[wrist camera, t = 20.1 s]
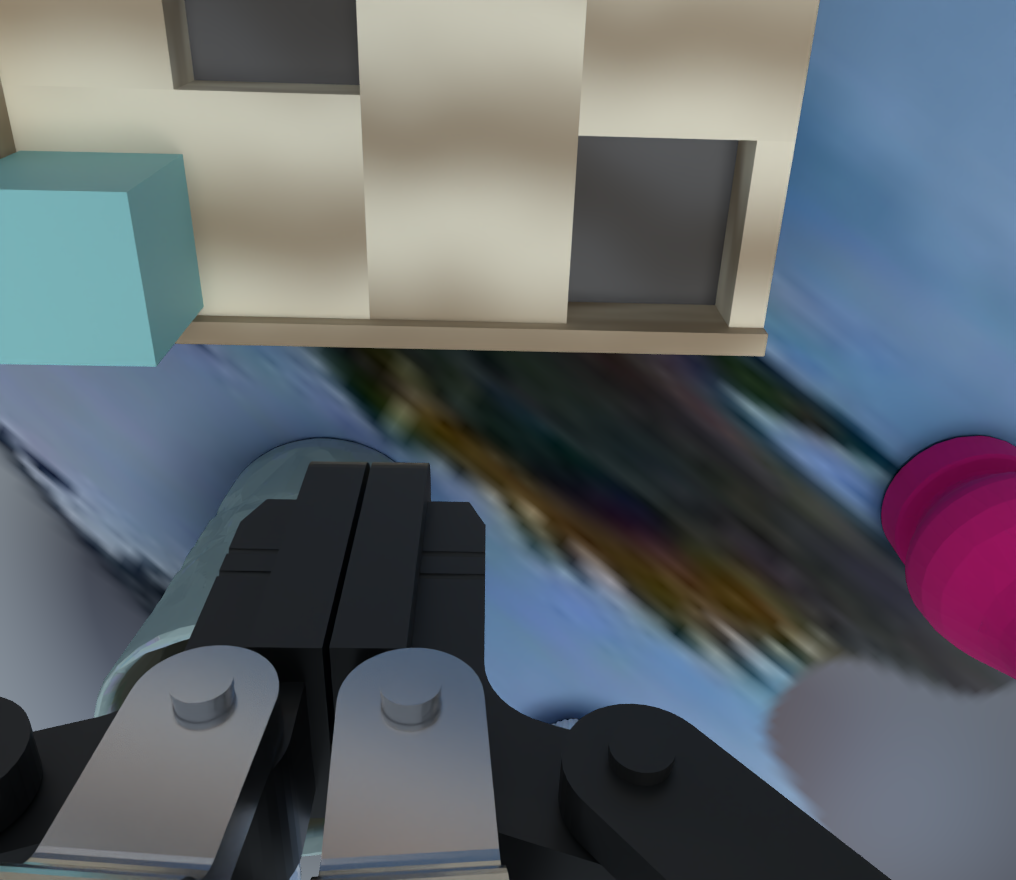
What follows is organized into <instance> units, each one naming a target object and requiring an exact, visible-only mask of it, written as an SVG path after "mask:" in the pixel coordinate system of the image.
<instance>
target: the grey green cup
mask: <svg viewBox="0 0 1016 880" xmlns="http://www.w3.org/2000/svg"><path fill="white" fill-rule="evenodd" d="M311 461H328V462H368V463H369V464H370V468H371V465H372V463H373V462H394V461H392V460H391V459H389V458H388V457H386V456H385V455H383V454H381V453H379V452H377V451H376V450H373V449H371V448H368V447H366V446H363V445H360V444H358V443H354V442H349V441H345V440H338V439H327V438H315V439H308V440H300V441H296V442H292V443H288V444H285V445H282V446H280V447H277V448H275V449H273V450H271V451H269V452H267V453H266V454H264V455H262V456H261V457H259V458H258V459H256V460H255V461H254V462H252V463H251V464H250V465H249V466H248V467H247V468H246V469H245V470H244V471H243V472H242V473H241V474H240V475H239V477H238V478H237V480H236V481H235V483H234V484H233V486H232V487H231V489H230V490H229V492H228V493H227V495H226V497H225V498H224V500H223V501H222V503H221V505H220V507H219V509H218V512H217V516H215V517H214V518H213V519H211V520H210V522H209V523H208V525H207V527H206V528H205V530H204V531H203V533H202V534H201V536H200V537H199V539H198V540H197V542H196V544H195V546H194V547H193V548H192V549H191V551H190V552H189V554H188V555H187V557H186V559H185V561H184V564H183V566H182V568H181V570H180V571H179V572H177V574H176V575H175V577H174V578H173V580H172V581H171V583H170V584H169V586H168V588H167V590H166V592H165V594H164V595H163V597H162V599H161V600H160V601H159V603H158V604H157V605H156V607H155V609H154V611H153V612H152V614H151V615H150V616H149V617H148V618H147V620H146V621H145V623H144V624H143V625H142V627H141V628H140V630H139V631H138V633H137V634H136V635H135V637H134V638H133V640H132V641H131V642H130V644H129V645H128V647H127V648H126V650H125V651H124V652H123V654H122V655H121V657H120V658H119V660H118V661H117V662H116V664H115V665H114V667H113V668H112V669H111V671H110V672H109V674H108V675H107V677H106V678H105V680H104V682H103V685H102V687H101V689H100V692H99V694H98V698H97V703H96V708H95V714H94V718H96V717H99V716H103V715H107V714H110V713H112V712H115V711H118V710H119V709H120V708H121V706H122V704H123V703H124V701H125V699H126V698H127V696H128V694H129V692H130V691H131V689H132V688H133V686H134V685H135V684H136V682H137V681H138V680H139V679H140V678H141V677H142V676H143V675H144V674H145V673H146V672H147V671H149V670H150V669H151V668H152V667H154V666H155V665H157V664H158V663H160V662H162V661H163V660H165V659H167V658H169V657H171V656H174V655H176V654H178V653H181V652H184V650H185V648H186V645H187V643H188V641H189V639H190V636H191V634H192V632H193V629H194V627H195V625H196V622H197V620H198V618H199V616H200V613H201V611H202V609H203V606H204V604H205V602H206V599H207V597H208V595H209V593H210V590H211V588H212V586H213V583H214V581H215V579H216V576H219V569H220V567H221V565H222V563H223V560H224V558H225V556H226V554H228V553H229V546H230V544H231V542H232V540H233V537H234V535H235V533H236V530H237V528H238V526H239V523H240V521H242V520H243V519H244V518H245V517H246V516H248V515H249V514H250V513H251V512H252V511H253V510H255V509H256V508H257V507H258V506H259V505H261V504H262V503H263V502H264V501H265V500H266V499H297V497H298V494H299V491H300V488H301V485H302V482H303V479H304V477H305V474H306V471H307V468H308V465H309V463H310V462H311ZM324 824H325V818H310V819H309V824H308V829H307V834H306V838H305V843H304V848H303V853H302V856H312V855H321V854H322V844H323V834H324Z"/></svg>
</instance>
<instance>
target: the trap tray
mask: <svg viewBox="0 0 1016 880" xmlns="http://www.w3.org/2000/svg"><path fill="white" fill-rule="evenodd" d="M819 1H820V0H0V159H2V158H4V157H6V156H8V155H11V154H13V153H15V152H18V151H62V152H107V153H152V154H183V160H184V168H185V175H186V182H187V189H188V197H189V204H190V211H191V218H192V226H193V233H194V240H195V247H196V254H197V262H198V269H199V276H200V283H201V291H202V298H203V305H204V307H203V308H202V310H201V311H200V312H199V313H198V315H197V316H196V317H195V318H194V320H193V321H192V322H191V323H190V325H189V326H188V327H187V328H186V330H185V331H184V332H183V333H182V335H181V336H180V337H179V339H178V340H177V341H176V342H175V344H218V345H264V346H311V347H357V348H404V349H450V350H497V351H543V352H590V353H636V354H683V355H729V356H764V355H765V349H766V343H767V338H768V334H767V332H766V331H765V329H764V322H765V316H766V310H767V304H768V299H769V293H770V287H771V281H772V275H773V269H774V264H775V258H776V252H777V246H778V240H779V234H780V229H781V223H782V217H783V211H784V205H785V199H786V194H787V188H788V182H789V176H790V170H791V164H792V159H793V153H794V147H795V141H796V135H797V130H798V124H799V118H800V112H801V106H802V100H803V95H804V89H805V83H806V77H807V71H808V65H809V60H810V54H811V48H812V42H813V36H814V30H815V25H816V19H817V13H818V7H819Z"/></svg>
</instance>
